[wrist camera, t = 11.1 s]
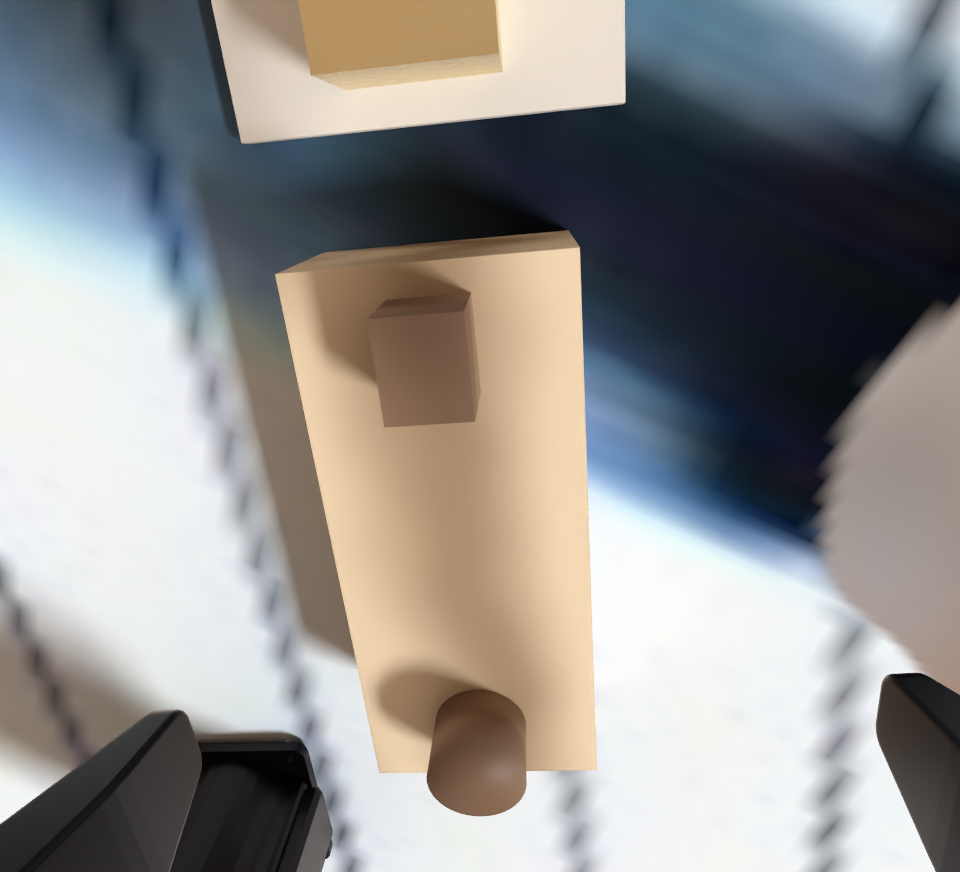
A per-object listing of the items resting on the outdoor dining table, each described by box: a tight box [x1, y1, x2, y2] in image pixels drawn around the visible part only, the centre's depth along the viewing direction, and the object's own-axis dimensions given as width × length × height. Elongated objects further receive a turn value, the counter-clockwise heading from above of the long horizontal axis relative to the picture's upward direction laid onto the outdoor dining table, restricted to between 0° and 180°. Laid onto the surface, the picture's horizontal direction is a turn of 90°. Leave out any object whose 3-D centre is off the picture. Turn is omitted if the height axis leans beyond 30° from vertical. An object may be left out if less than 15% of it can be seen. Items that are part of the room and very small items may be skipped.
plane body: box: [275, 230, 597, 816], centre depth 19 cm, size 7×16×6 cm, turn 5°
